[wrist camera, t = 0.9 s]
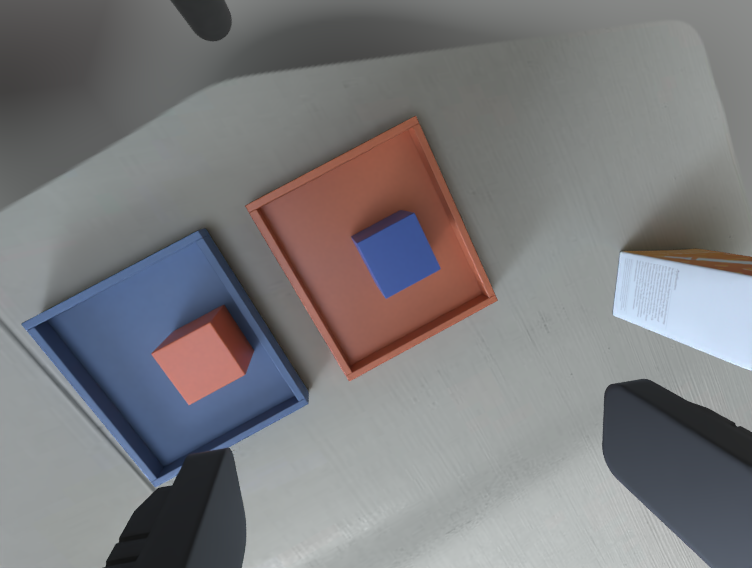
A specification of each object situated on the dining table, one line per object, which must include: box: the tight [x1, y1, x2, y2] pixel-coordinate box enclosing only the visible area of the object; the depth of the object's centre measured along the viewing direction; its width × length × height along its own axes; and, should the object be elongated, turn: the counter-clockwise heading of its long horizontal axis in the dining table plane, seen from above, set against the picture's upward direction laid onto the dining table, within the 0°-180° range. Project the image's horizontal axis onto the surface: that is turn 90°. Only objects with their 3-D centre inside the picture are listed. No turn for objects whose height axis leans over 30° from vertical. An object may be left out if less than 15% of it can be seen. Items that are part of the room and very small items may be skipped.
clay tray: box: [245, 116, 497, 381], centre depth 33 cm, size 16×14×2 cm
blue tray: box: [22, 228, 309, 487], centre depth 32 cm, size 16×14×2 cm
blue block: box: [351, 210, 441, 299], centre depth 31 cm, size 5×5×5 cm
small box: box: [613, 249, 752, 371], centre depth 32 cm, size 8×6×13 cm
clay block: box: [151, 305, 254, 405], centre depth 31 cm, size 5×5×5 cm
